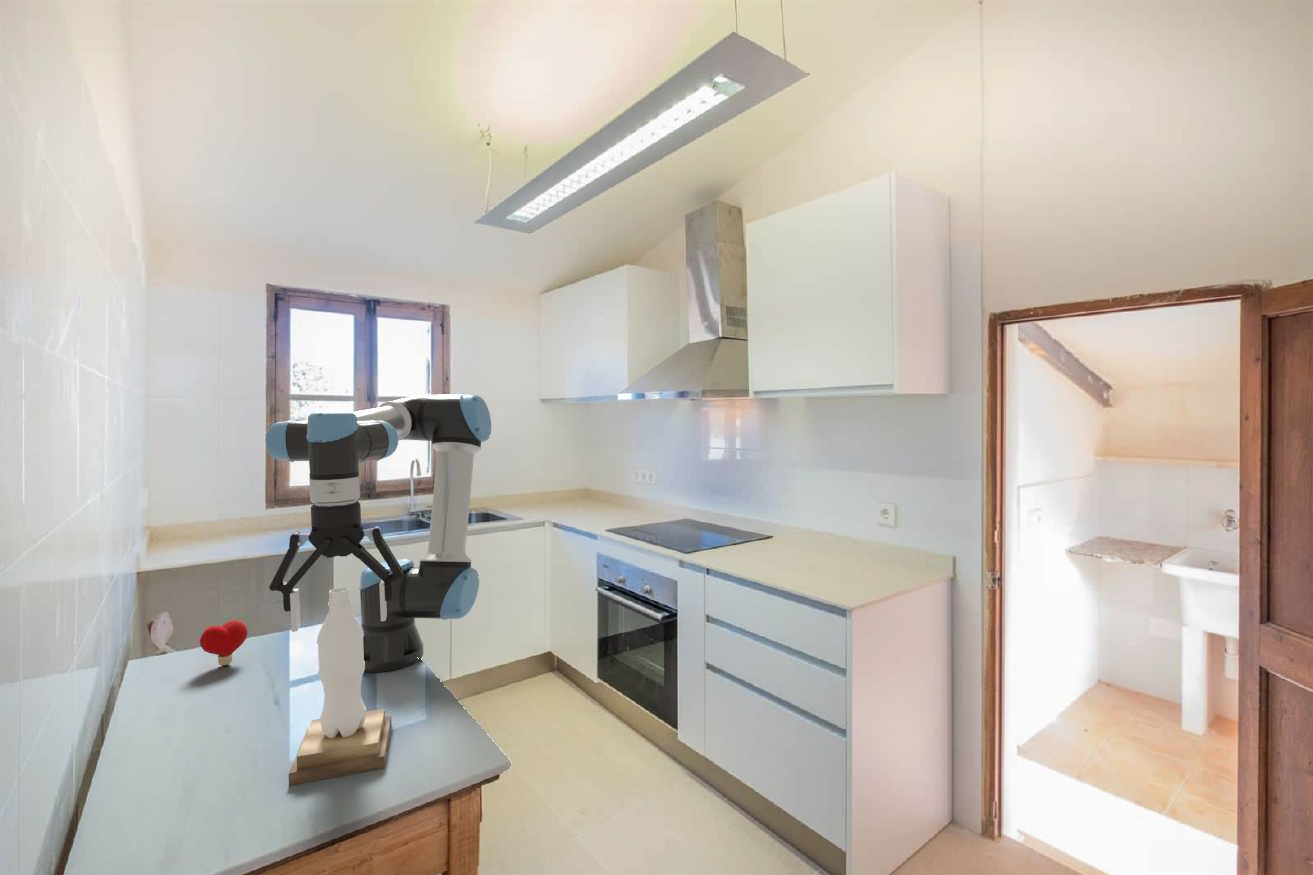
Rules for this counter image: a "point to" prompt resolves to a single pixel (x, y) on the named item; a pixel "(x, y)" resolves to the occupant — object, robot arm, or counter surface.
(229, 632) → the red heart on stem
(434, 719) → the counter surface
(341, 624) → the water bottle
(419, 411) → the robot arm
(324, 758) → the oak slab
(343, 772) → the walnut slab
